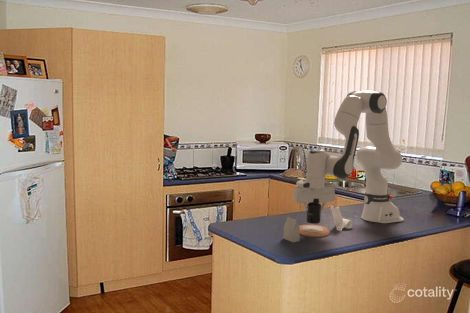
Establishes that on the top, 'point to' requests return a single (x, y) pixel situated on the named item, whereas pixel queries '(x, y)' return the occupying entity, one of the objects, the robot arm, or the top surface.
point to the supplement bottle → (314, 212)
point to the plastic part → (340, 219)
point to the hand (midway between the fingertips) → (313, 211)
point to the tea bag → (291, 230)
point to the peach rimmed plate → (314, 230)
